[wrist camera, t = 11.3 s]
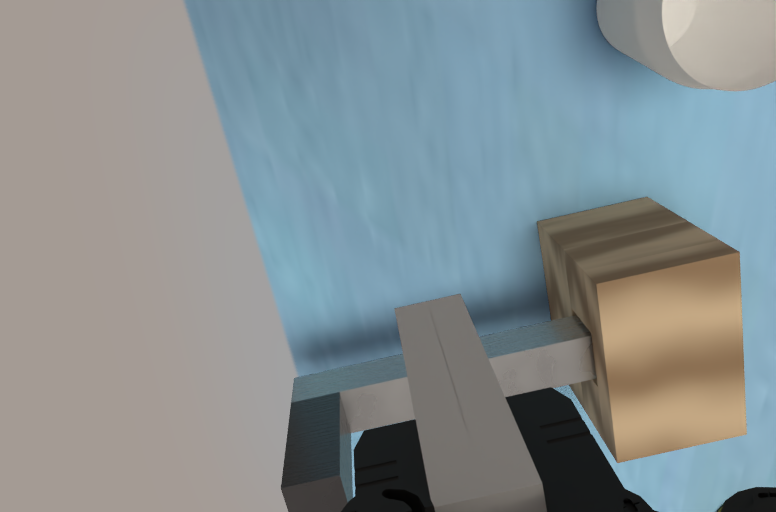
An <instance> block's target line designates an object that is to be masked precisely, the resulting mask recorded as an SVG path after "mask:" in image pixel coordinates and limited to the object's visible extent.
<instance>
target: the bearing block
mask: <svg viewBox="0 0 776 512" xmlns="http://www.w3.org/2000/svg"><path fill="white" fill-rule="evenodd" d="M537 225H538V232H539V239H540V245H541V252H542V259H543V266H544V273H545V280H546V287H547V294H548V301H549V308H550V315H551V321H552V320H556V319H561V318H565V317H570V316H574V315H577V316H578V317H579V318H580V320H581V321H582V322H583V323H584V325H585V326H586V327H587V328H588V330H589V331H590V332H591V335H592V343H593V351H594V359H595V367H596V375H597V378H596V379H592V380H587V381H583V382H578V383H574V384H569V386H570V387H571V389H572V391H573V392H574V394H575V395H576V397H577V399H578V400H579V402H580V403H581V405H582V407H583V408H584V410H585V412H586V413H587V415H588V416H589V418H590V420H591V421H592V423H593V424H594V426H595V428H596V429H597V431H598V433H599V434H600V436H601V437H602V439H603V441H604V442H605V444H606V445H607V447H608V449H609V450H610V452H611V454H612V455H613V457H614V458H615V460H616V462H617V463H620V462H624V461H629V460H633V459H638V458H642V457H647V456H651V455H656V454H660V453H665V452H669V451H674V450H678V449H683V448H687V447H692V446H696V445H701V444H705V443H710V442H715V441H719V440H724V439H728V438H733V437H737V436H742V435H746V434H747V430H746V405H745V379H744V354H743V328H742V303H741V277H740V252H739V251H737V250H735V249H734V248H732V247H730V246H729V245H727V244H725V243H724V242H722V241H720V240H719V239H717V238H715V237H713V236H712V235H710V234H708V233H707V232H705V231H703V230H702V229H700V228H698V227H697V226H695V225H693V224H692V223H690V222H688V221H687V220H685V219H683V218H682V217H680V216H678V215H677V214H675V213H673V212H672V211H670V210H668V209H667V208H665V207H663V206H662V205H660V204H658V203H657V202H655V201H653V200H652V199H650V198H648V197H644V198H640V199H635V200H631V201H627V202H622V203H618V204H613V205H609V206H604V207H600V208H595V209H591V210H586V211H582V212H577V213H573V214H569V215H564V216H560V217H555V218H551V219H546V220H542V221H537Z"/></svg>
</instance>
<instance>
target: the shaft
mask: <svg viewBox="0 0 776 512" xmlns="http://www.w3.org/2000/svg"><path fill="white" fill-rule="evenodd" d="M479 338H480V340H481V343H482V345H483V347H484V350H485V352H486V354H487V357H488V359H489V361H490V364H491V366H492V368H493V370H494V373H495V375H496V377H497V380H498V382H499V384H500V387H501V389H502V391H503V394H504V396H505V397H508V396H513V395H517V394H522V393H526V392H531V391H535V390H540V389H544V388H549V387H552V388H556V387H560V386H565V385H569V384H574V383H578V382H583V381H587V380H592V379H596V378H597V375H596V367H595V359H594V351H593V343H592V335H591V332H590V331H589V330H588V328H587V327H586V326H585V325H584V323H583V322H582V321H581V320H580V318H579V317H578V316H577V315H574V316H570V317H565V318H561V319H556V320H552V321H547V322H543V323H538V324H534V325H529V326H525V327H520V328H516V329H512V330H507V331H503V332H498V333H494V334H489V335H485V336H480V337H479ZM412 419H415V414H414V409H413V403H412V398H411V393H410V387H409V382H408V377H407V372H406V366H405V361H404V356H403V354H400V355H395V356H391V357H386V358H382V359H377V360H373V361H368V362H364V363H359V364H355V365H350V366H346V367H341V368H337V369H332V370H328V371H323V372H319V373H314V374H310V375H305V376H301V377H297V378H294V384H293V393H292V402H291V409H290V418H289V426H288V434H287V443H286V451H285V459H284V467H283V476H282V484H281V490H282V493H283V496H284V498H285V502H286V505H287V508H288V511H289V512H341V511H342V509H343V508H344V507H345V506H346V504H347V503H348V502H349V501H350V500H351V499H352V498H353V489H352V455H351V433H354V432H358V431H363V430H367V429H372V428H376V427H381V426H385V425H390V424H394V423H399V422H403V421H408V420H412Z"/></svg>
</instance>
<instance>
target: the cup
mask: <svg viewBox="0 0 776 512" xmlns="http://www.w3.org/2000/svg"><path fill="white" fill-rule="evenodd" d="M596 11H597V19H598V23H599V27H600V29H601V32H602V33H603V35H604V37H605V38H606V40H607V41H608V42H609V43H610V44H611V45H612V46H613V47H614V48H616V49H617V50H619V51H620V52H622V53H624V54H625V55H627V56H629V57H631V58H632V59H634V60H636V61H637V62H639V63H641V64H643V65H644V66H646V67H648V68H649V69H651V70H653V71H655V72H656V73H658V74H660V75H662V76H663V77H665V78H667V79H669V80H671V81H673V82H675V83H677V84H680V85H683V86H686V87H690V88H696V89H716V90H724V91H744V90H751V89H755V88H759V87H762V86H765V85H767V84H769V83H772V82H774V81H776V0H597V6H596Z"/></svg>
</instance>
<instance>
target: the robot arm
mask: <svg viewBox="0 0 776 512" xmlns="http://www.w3.org/2000/svg"><path fill="white" fill-rule="evenodd" d="M395 314H396V319H397V324H398V329H399V335H400V340H401V345H402V351H403V356H404V361H405V366H406V372H407V377H408V382H409V387H410V393H411V398H412V403H413V409H414V414H415V419H414V420H410V421H405V422H401V423H396V424H392V425H387V426H383V427H378V428H374V429H369V430H365V431H364V432H363V434H362V436H361V437H360V439H359V441H358V443H357V445H356V447H355V449H354V469H355V487H356V489H355V497H354V498H352V499H351V500H350V501H349V502H348V503H347V504H346V506H345V507H344V508H343V509H342V511H341V512H658V511H654V510H652V508H651V507H650V506H649V505H648V504H647V503H646V502H645V501H644V500H643V499H642V498H641V497H640V496H638V495H636V494H634V493H632V492H630V491H628V490H626V489H624V487H623V485H622V484H621V482H620V480H619V479H618V477H617V475H616V474H615V472H614V470H613V469H612V467H611V465H610V464H609V462H608V460H607V459H606V457H605V455H604V454H603V452H602V450H601V449H600V447H599V445H598V444H597V442H596V440H595V439H594V437H593V435H591V434H590V430H589V429H588V427H587V425H586V424H585V422H584V421H583V420H582V418H581V416H580V414H579V412H578V411H577V409H576V407H575V406H574V404H573V402H572V401H571V399H569V398H568V397H566V396H564V395H563V394H561V393H560V392H558V391H556V390H555V389H553V388H552V387H549V388H544V389H540V390H535V391H531V392H526V393H522V394H517V395H513V396H508V397H505V396H504V394H503V391H502V389H501V387H500V384H499V382H498V380H497V377H496V375H495V373H494V370H493V368H492V366H491V364H490V361H489V359H488V357H487V354H486V352H485V350H484V347H483V345H482V343H481V340H480V338H479V336H478V334H477V331H476V329H475V327H474V324H473V322H472V320H471V317H470V315H469V313H468V310H467V308H466V306H465V303H464V301H463V299H462V297H461V294H457V295H453V296H448V297H444V298H439V299H435V300H430V301H426V302H421V303H417V304H412V305H408V306H403V307H399V308H395ZM720 512H776V488H773V487H755V488H751V489H747V490H743V491H739V492H737V493H736V494H734V495H733V496H731V497H730V498H729V499H727V500H726V501H725V502H724V505H723V507H722V509H721V511H720Z"/></svg>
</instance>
